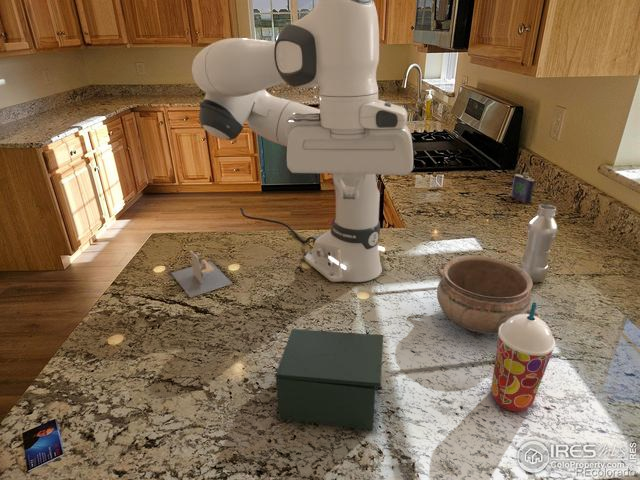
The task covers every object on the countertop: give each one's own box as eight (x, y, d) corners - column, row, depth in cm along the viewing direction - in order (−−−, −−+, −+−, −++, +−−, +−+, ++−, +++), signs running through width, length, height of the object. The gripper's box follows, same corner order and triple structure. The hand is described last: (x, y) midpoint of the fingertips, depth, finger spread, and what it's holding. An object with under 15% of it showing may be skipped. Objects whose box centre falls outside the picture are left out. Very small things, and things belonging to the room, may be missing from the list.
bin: (376, 378, 79) (378, 340, 75) (372, 430, 68) (375, 389, 65) (293, 369, 81) (292, 332, 77) (278, 418, 71) (275, 378, 67)
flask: (508, 196, 166) (513, 169, 162) (514, 195, 167) (520, 169, 162) (526, 204, 158) (532, 176, 154) (532, 203, 159) (539, 175, 155)
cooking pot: (406, 310, 98) (410, 263, 93) (460, 285, 108) (467, 242, 103) (501, 373, 80) (513, 320, 74) (556, 336, 89) (570, 287, 84)
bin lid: (383, 338, 75) (383, 335, 74) (380, 387, 64) (380, 383, 64) (292, 332, 77) (291, 328, 77) (276, 378, 67) (275, 374, 67)
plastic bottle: (548, 286, 107) (567, 213, 98) (519, 284, 108) (536, 211, 99) (541, 274, 112) (559, 203, 104) (514, 271, 114) (529, 201, 105)
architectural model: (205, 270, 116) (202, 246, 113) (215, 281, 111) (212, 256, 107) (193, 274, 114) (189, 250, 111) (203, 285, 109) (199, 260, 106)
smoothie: (494, 375, 79) (515, 283, 71) (542, 396, 75) (570, 300, 66) (478, 402, 74) (497, 306, 65) (528, 427, 69) (557, 327, 60)
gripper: (277, 117, 64) (284, 203, 70) (416, 116, 60) (411, 207, 66) (288, 110, 70) (293, 190, 76) (416, 109, 66) (411, 193, 72)
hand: (349, 198), depth 71 cm, fingers closed
